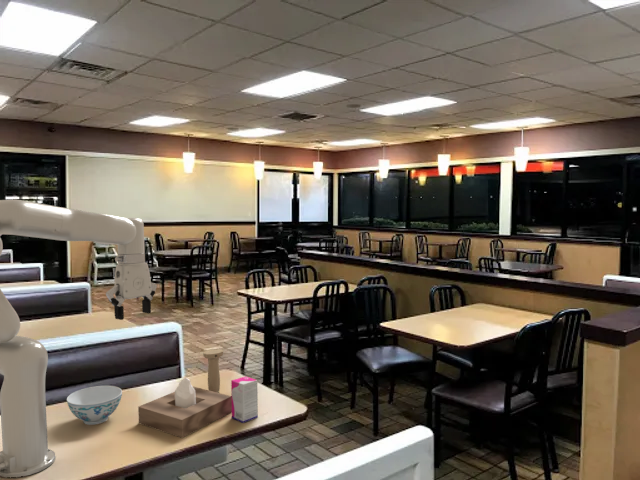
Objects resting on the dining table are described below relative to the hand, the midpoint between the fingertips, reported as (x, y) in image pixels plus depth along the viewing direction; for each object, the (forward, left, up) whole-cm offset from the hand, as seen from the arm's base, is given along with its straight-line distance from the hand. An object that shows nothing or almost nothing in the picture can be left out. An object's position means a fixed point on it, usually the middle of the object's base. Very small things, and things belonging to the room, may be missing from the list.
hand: (133, 315), depth 152 cm
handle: (+23, -10, -31) cm, 39 cm away
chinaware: (-9, +7, -31) cm, 33 cm away
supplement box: (+15, -30, -31) cm, 45 cm away
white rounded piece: (+6, -15, -31) cm, 34 cm away
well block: (+6, -15, -30) cm, 34 cm away
